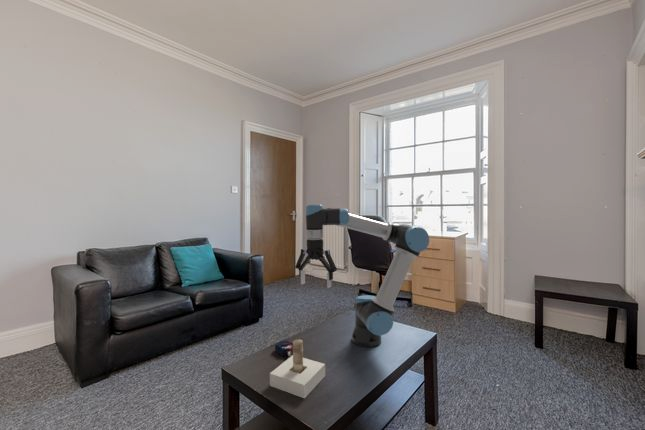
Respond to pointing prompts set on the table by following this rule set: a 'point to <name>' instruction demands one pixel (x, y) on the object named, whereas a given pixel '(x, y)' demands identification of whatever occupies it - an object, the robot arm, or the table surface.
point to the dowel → (298, 356)
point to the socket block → (297, 377)
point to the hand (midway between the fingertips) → (315, 285)
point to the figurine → (284, 348)
